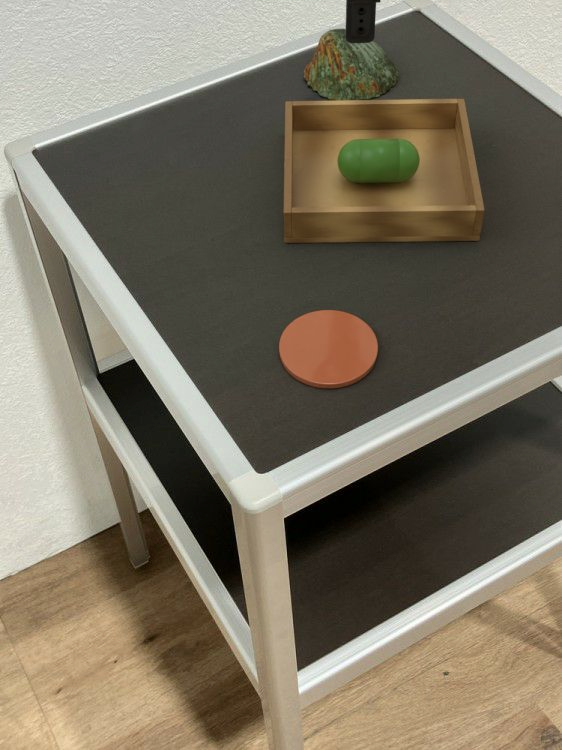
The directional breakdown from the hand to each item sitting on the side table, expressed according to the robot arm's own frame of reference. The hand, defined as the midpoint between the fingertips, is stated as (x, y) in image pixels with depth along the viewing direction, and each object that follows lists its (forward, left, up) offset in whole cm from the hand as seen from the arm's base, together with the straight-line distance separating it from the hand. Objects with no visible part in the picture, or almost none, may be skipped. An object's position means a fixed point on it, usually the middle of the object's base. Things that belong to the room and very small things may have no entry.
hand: (357, 11), depth 77 cm
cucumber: (-2, -1, -17) cm, 18 cm away
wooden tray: (-2, -1, -18) cm, 18 cm away
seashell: (0, -19, -18) cm, 26 cm away
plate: (+3, +20, -18) cm, 27 cm away
